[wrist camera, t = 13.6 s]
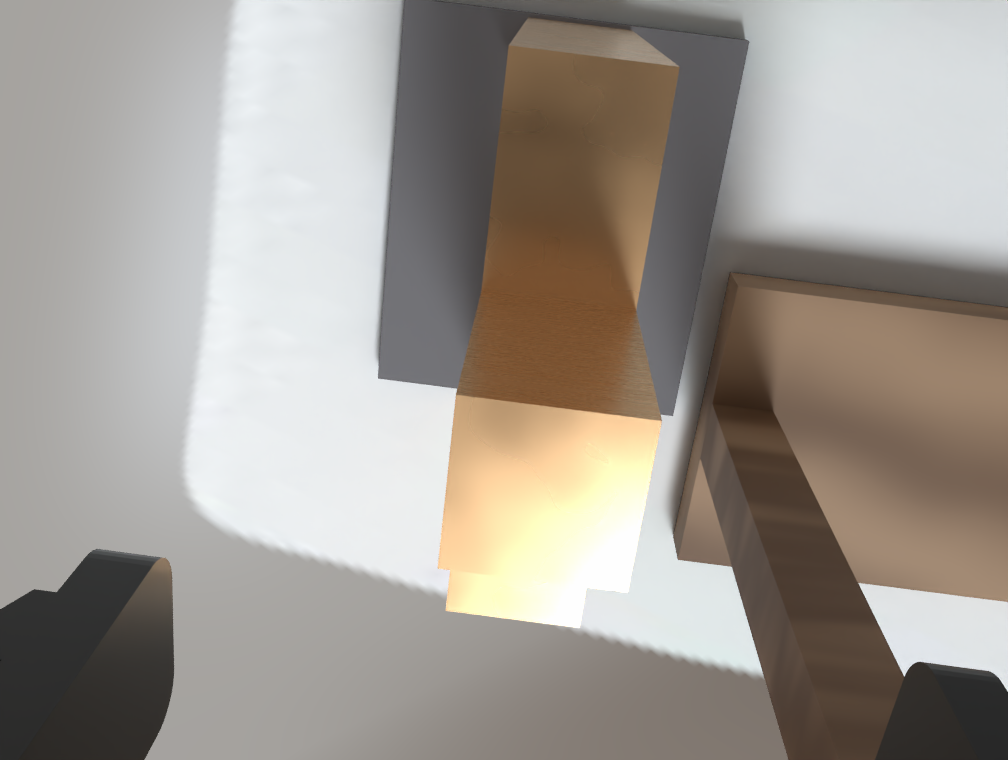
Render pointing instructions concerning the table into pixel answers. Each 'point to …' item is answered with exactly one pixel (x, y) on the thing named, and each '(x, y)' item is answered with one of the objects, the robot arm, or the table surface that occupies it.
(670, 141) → the mat
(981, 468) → the stand
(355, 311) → the table surface
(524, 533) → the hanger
